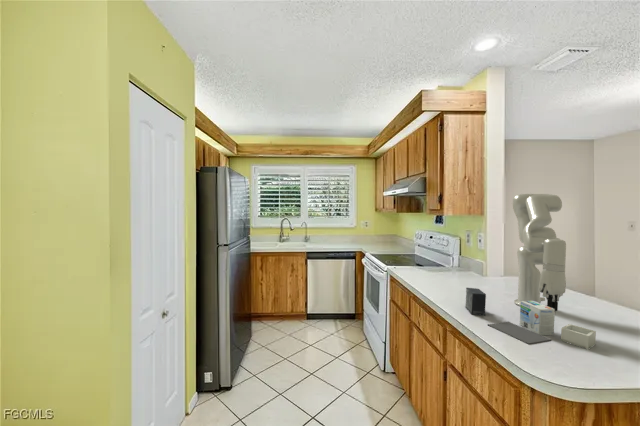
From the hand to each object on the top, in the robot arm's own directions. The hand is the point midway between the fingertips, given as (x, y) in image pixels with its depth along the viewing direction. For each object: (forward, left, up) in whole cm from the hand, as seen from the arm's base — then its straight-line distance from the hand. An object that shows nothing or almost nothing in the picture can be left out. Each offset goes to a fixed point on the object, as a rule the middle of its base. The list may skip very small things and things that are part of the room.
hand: (552, 309), depth 125 cm
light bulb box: (+9, 0, -8) cm, 12 cm away
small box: (+17, -24, -8) cm, 31 cm away
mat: (+20, 0, -8) cm, 21 cm away
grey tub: (+5, +13, -8) cm, 16 cm away
